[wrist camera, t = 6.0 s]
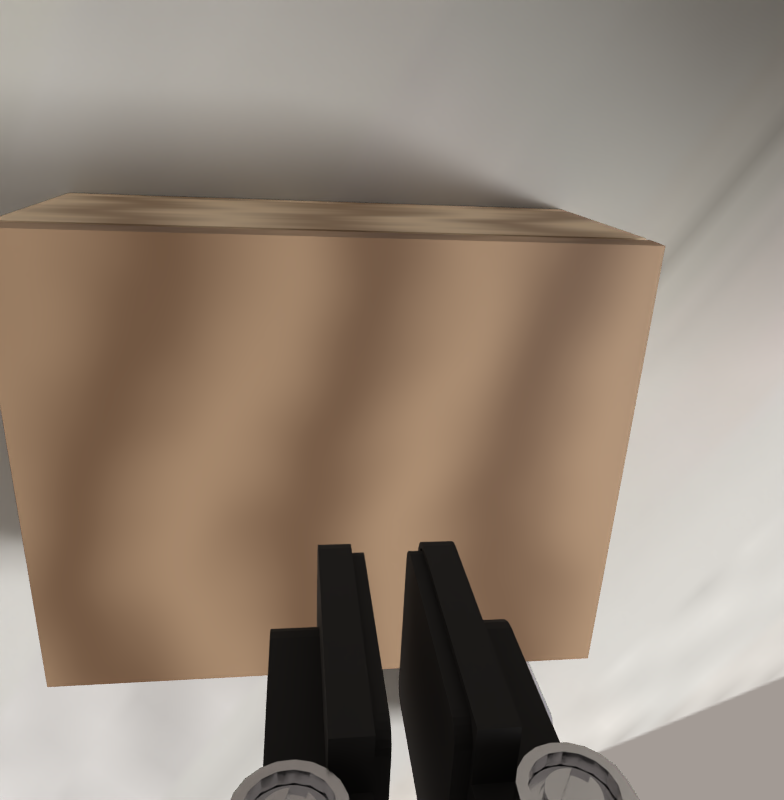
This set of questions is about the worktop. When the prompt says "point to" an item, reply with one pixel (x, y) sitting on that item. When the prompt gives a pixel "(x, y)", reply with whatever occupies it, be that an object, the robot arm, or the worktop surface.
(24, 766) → the worktop surface
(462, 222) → the storage box
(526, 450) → the lid
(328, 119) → the worktop surface
